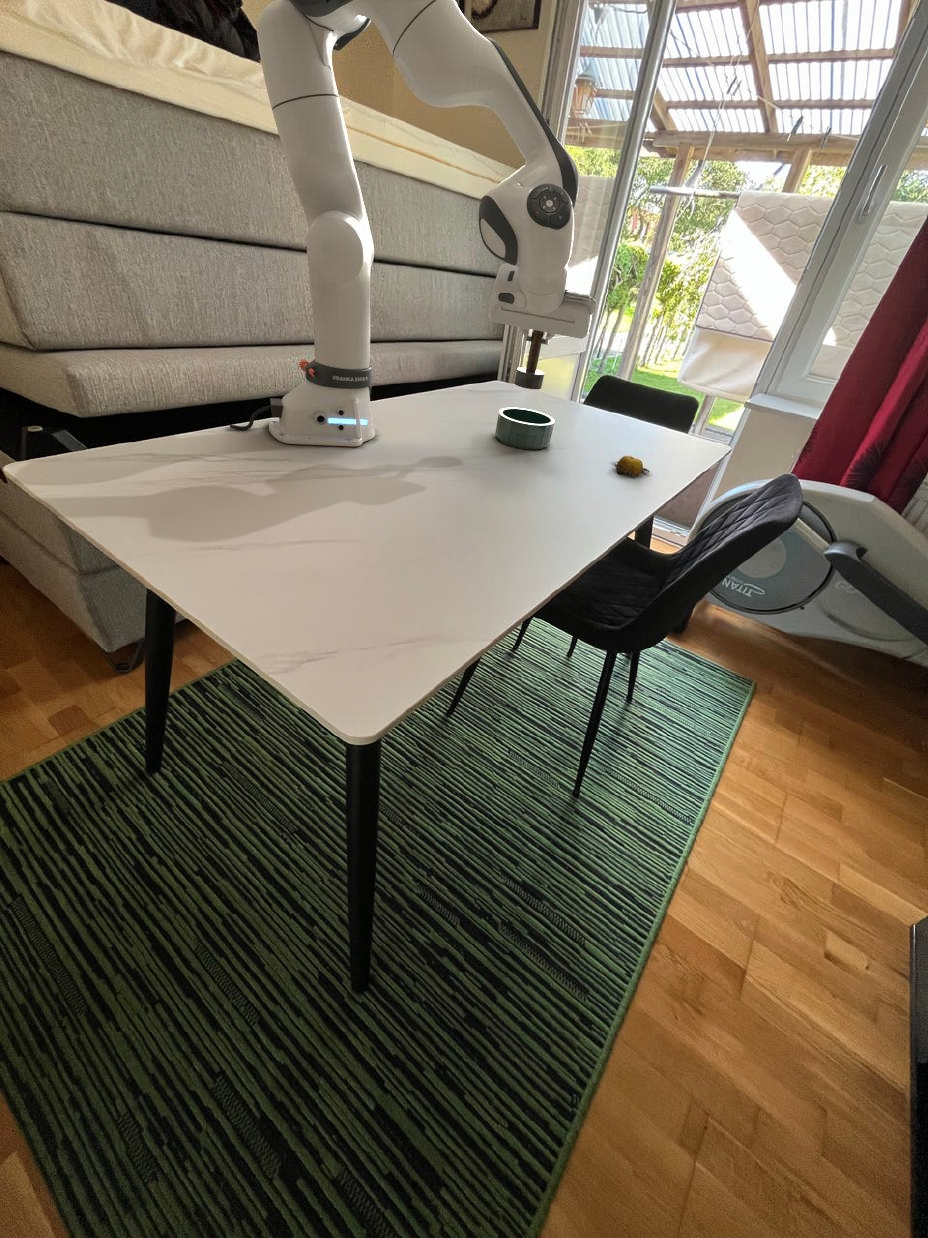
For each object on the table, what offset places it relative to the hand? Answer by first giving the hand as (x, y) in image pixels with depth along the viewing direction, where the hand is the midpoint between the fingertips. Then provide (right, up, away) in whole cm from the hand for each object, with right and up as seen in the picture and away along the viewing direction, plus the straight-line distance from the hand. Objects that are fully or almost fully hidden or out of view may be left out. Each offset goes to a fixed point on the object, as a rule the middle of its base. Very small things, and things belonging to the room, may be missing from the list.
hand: (537, 339), depth 108 cm
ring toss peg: (-1, -7, +5) cm, 9 cm away
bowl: (-1, -14, +21) cm, 25 cm away
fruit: (+24, -24, +13) cm, 36 cm away
